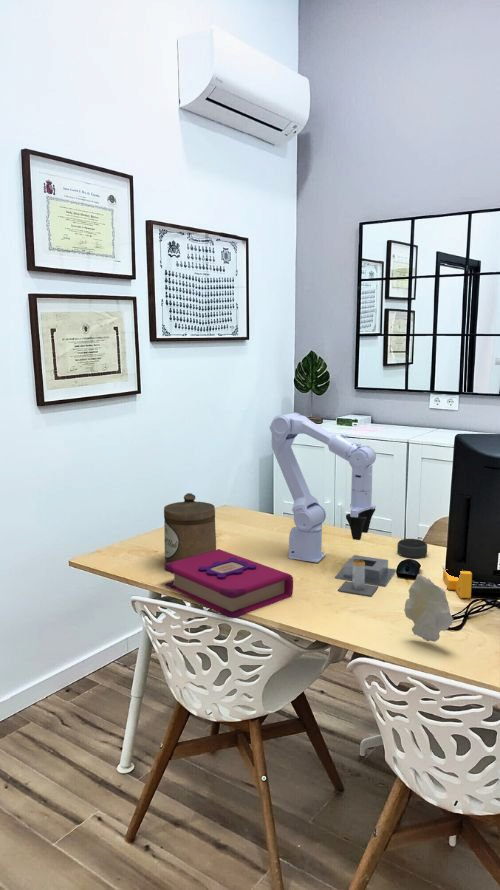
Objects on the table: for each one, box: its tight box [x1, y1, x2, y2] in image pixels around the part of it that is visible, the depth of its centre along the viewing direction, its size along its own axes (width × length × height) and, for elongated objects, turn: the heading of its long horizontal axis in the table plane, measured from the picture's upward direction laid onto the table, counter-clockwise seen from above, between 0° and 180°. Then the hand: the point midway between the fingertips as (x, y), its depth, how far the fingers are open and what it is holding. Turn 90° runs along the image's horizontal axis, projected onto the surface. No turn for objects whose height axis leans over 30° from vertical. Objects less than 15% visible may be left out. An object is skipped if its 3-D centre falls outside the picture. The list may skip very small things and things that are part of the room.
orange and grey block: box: [351, 559, 365, 590], centre depth 171 cm, size 3×3×8 cm
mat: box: [337, 580, 379, 598], centre depth 171 cm, size 9×7×1 cm
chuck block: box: [334, 554, 397, 587], centre depth 182 cm, size 14×13×4 cm
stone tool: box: [403, 573, 454, 643], centre depth 141 cm, size 11×4×15 cm, turn 51°
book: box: [164, 548, 294, 619], centre depth 169 cm, size 21×28×8 cm
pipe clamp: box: [442, 569, 473, 599], centre depth 172 cm, size 12×4×6 cm, turn 176°
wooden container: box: [163, 492, 217, 565], centre depth 186 cm, size 15×15×22 cm
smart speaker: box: [397, 538, 428, 559], centre depth 200 cm, size 9×9×4 cm
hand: (360, 535), depth 185 cm, fingers open, 7 cm apart
